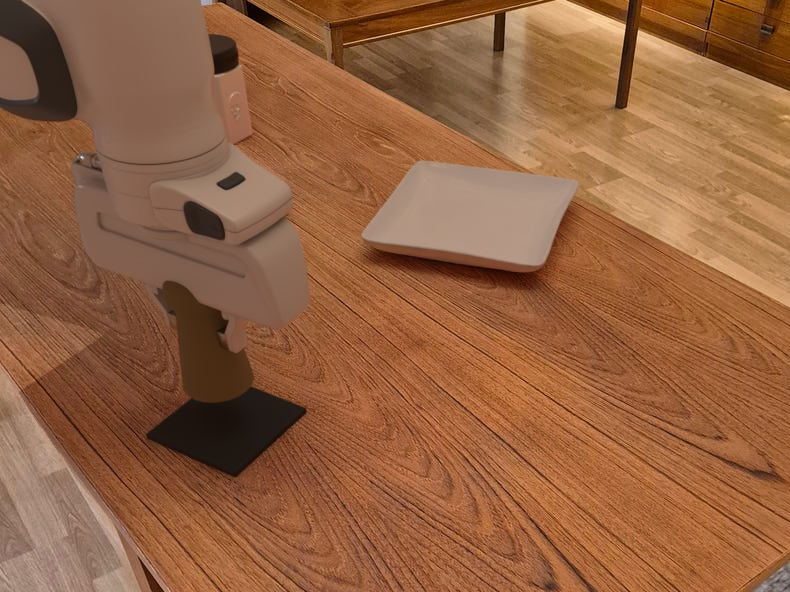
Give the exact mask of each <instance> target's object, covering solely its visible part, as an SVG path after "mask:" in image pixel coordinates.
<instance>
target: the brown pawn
mask: <svg viewBox="0 0 790 592" xmlns="http://www.w3.org/2000/svg"><path fill="white" fill-rule="evenodd" d="M162 291H163V295H164V299H165V300H166V302H167V304H168V305H169V306H170V308H171V309H172V310H173V311H175V315H176V324H177V330H176V334H177V342H178V343H177V344H178V352H179V353H178V354H179V363H180V372H181V373H180V374H181V383H182V389H183V392H184V393H185V394H186V395H187V397H189V398H190V399H191V398H193V399H194V400H197V401H201V402H210V403H217V402H223V401H228V400H231V399H233V398H236V397H239V396H240V395H242V394H243V393H245V392H246V391H247V390H248V389H249V388H250V387H252V385H253V383H254V381H255V380H254V379H255V376H254V375H255V374H254V370H253V368H252V365H251V362H250V359H249V357H248V355H247V352H246V349H245V347H244V348H243V349H242V350H241V351H239V352H238V353H234V352H231V351H229V350H226V349H224V348H222V347H221V346H220V344H219V343H220V340H219V339H218V335H217V331H219V330H220V329H221V328H223V327H226V325H227V324H228V322H229V320H225V319H223V317H222V313H221V311H220V310H218V309H215V308H212V307H209V306H207V305H204V304H201V303H199V302H198V301H197V299H196V298H195V297H194V295H193V294H192V293H191V292H190V291H189V290H188V289H187V288H186V287H185V286H183V285H181V284H179V283H177V282H173V281H165V282H164V283H163V286H162Z"/></svg>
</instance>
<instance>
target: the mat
mask: <svg viewBox="0 0 790 592" xmlns="http://www.w3.org/2000/svg"><path fill="white" fill-rule="evenodd" d="M305 414H307V408H306V407H305V406H302V405H299V404H297V403H294V402H292V401H290V400H287V399H284V398H282V397H279V396H276V395H274V394H271V393H269V392H266V391H265V390H261V389H258V388H256V387H254V386H251V387H250V388H249V389H248V390H247V391H246V392H245V393H243V394H242V395H240V396H239V397H236V398H233V399H231V400H228V401H223V402H217V403H210V402H201V401H197V400H194V399H193V398H191V397H190V399H188V400H187V401H186V402H184V403H183V404H182V405H181V406H179V407H178V408H177V409H176V410H174V411H173V412H172V413H170V414H169V415H168V416H167V417H165V419H163V420H162V421H160V422H159V423H158V424H156V426H154V427H153V428H152V429H150V430H148V432H147V433H146V434H145V436H146V439H148V440H150V441H153V442H155V443H157V444H159V445H162V446H164V447H166V448H168V449H171V450H173V451H175V452H177V453H180V454H181V455H184V456H186V457H189V458H191V459H193V460H194V461H195V460H196V461H198V462H200V463H201V464H205V465H206V466H209V467H210V468H214V469H215V470H218V471H220V472H222V473H224V474H227V475H229V476H232V477H233V478H236V477H237V476H238V475H240V474H241V473H242V472H243V471H245V469H246V468H248V467H249V466H250V464H252V463H253V462H254V461H255V460H256V459H257V458H258V457H260V455H261V454H262V453H264V452H265V451H266V450H267V449H268V448H269V447H271V445H272V444H273V443H274V442H276V441H277V440H278V439H279V438H280V437H281V436H282V435H283V434H284V433H286V431H288V430H289V429H290V428H292V426H293V425H294V424H295V423H297V422H298V421H299V420H300V419H301V418H302V417H303V416H304V415H305Z"/></svg>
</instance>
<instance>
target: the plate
mask: <svg viewBox="0 0 790 592" xmlns="http://www.w3.org/2000/svg"><path fill="white" fill-rule="evenodd" d="M579 185H580V182H579V181H578V180H577V179H572V178H566V177H565V178H564V177H559V176H552V175H551V176H550V175H543V174H542V175H541V174H537V173H536V174H535V173H529V172H522V171H521V172H520V171H513V170H506V169H497V168H490V167H481V166H475V165H474V166H473V165H466V164H457V163H449V162H442V161H434V160H433V161H432V160H422V159H421V160H418V161H416V162H415V163H414V164H413V165H412V166H411V167H410V169H409V170H408V171H407V172H406V174H405V175H404V177H403V178H402V179H401V180H400V182H399V183H398V185H397V186H396V187H395V189H394V190H393V192H392V193H391V194H390V195H389V196H388V198H387V199H386V200H385V202H384V203H383V205H382V206H381V208H380V209H379V210H378V211H377V212H376V214H375V215H374V216H373V218H372V219H371V220H370V221H369V223H368V224H367V225H366V227H365V228H364V229H363V231H362V232H361V234H360V238H361V240H363V242H364V243H365V244H367V245H369V246H370V247H372V248H374V249H376V250H380V251H382V252H387V253H391V254H398V255H402V256H403V255H404V256H410V257H413V258H418V259H419V258H420V259H425V260H432V261H437V262H438V261H439V262H443V263H444V262H445V263H449V264H454V265H455V264H456V265H462V266H470V267H476V268H477V267H478V268H484V269H492V270H500V271H501V270H502V271H506V272H513V273H532V272H535V271H536V272H537V271H538V270H540V269H542V268H543V267H544V265H545V264H546V262H547V260H548V257H549V255H550V252H551V250H552V247H553V243H554V240H555V237H556V234H557V233H558V229H559V227H560V224H561V222H562V220H563V218H564V216H565V214H566V212H567V209H568V208H569V206H570V204H571V202H572V200H573V199H574V197H575V195H576V193H577V191H578V189H579Z"/></svg>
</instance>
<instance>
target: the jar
mask: <svg viewBox="0 0 790 592" xmlns="http://www.w3.org/2000/svg"><path fill="white" fill-rule="evenodd" d="M208 35H209V41H210V46H211V51H212V57H213V63H214V80H213V95H214V101H215V104H216V107H217V109H218V111H219V113H220V115H221V117H222V119H223V122H224V125H225V129H226V134H227V140H228V142H229V143H231V144H233V145H236V144H237V143H240V142H242V141H243V140H245V139H247V138H249V137H251V136H253V133H254V132H253V127H252V119H251V113H250V107H249V102H248V101H249V100H248V94H247V90H246V83H245V75H244V69H243V66H242V64H240V58H239V55H240V54H239V49H238V47H237V46H238V45H237V42H236V40H235V39H233V38H232V37H230V36H227V35H223V34H216V33H215V34H214V33H208Z"/></svg>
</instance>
